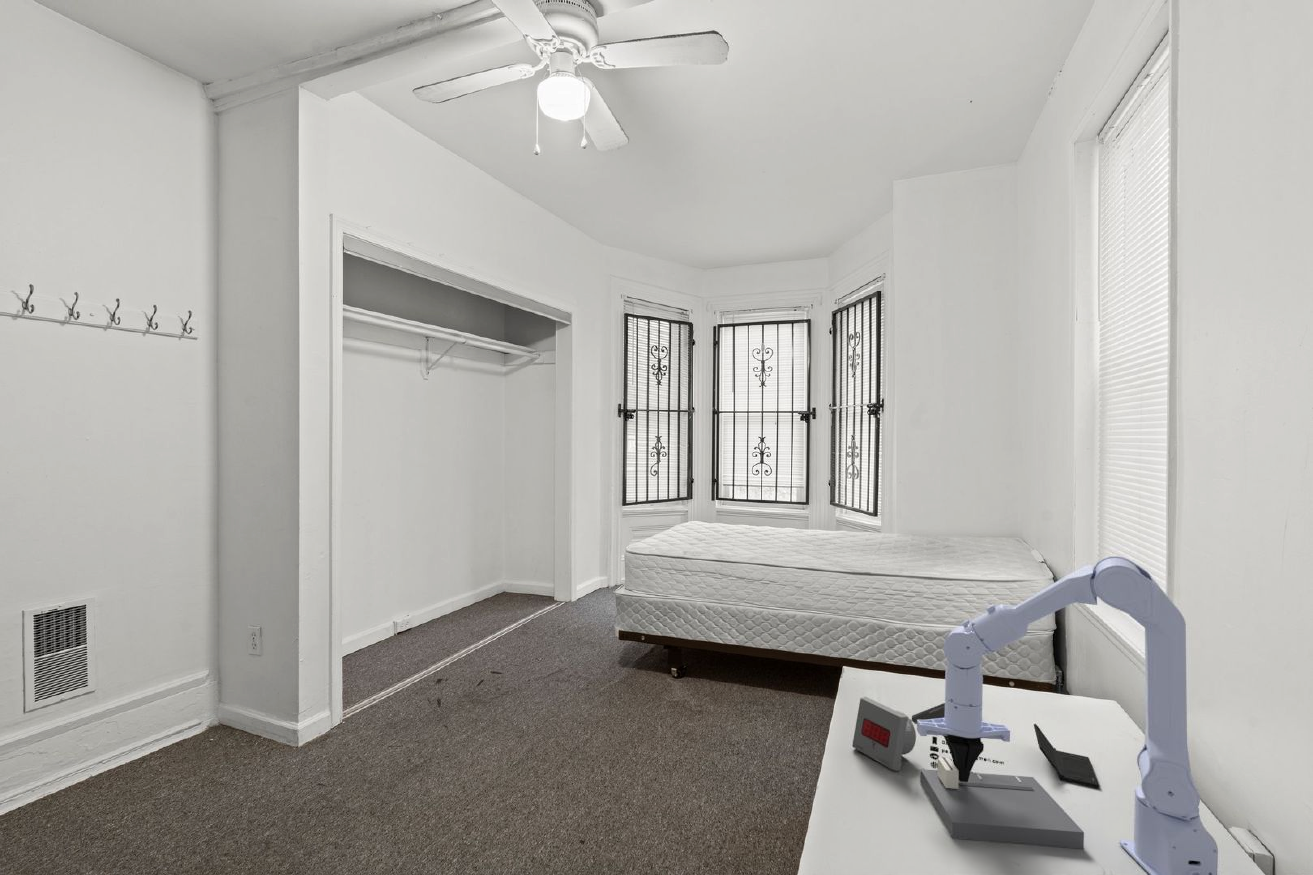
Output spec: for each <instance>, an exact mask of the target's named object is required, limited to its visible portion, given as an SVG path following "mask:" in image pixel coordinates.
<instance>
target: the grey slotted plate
mask: <svg viewBox="0 0 1313 875" xmlns="http://www.w3.org/2000/svg"><path fill="white" fill-rule="evenodd" d="M919 777H920V778H919V784H920V783H921V784H920V786H921V787H922V788H923V790H924V793H925V794H926V795H927V797H928V799H929V801H930V802H931V805H932V806H933V808H934V809H935V812H936V813H937V815H938V816H939V818H940V820H941V821H942V823H943V825H944V827H945V828H946V830H947V832H948V834H949V836H950V837H951V839H959V840H972V841H984V842H994V843H1007V844H1020V845H1032V846H1041V847H1043V846H1045V847H1056V848H1057V847H1058V848H1068V849H1080V850H1084V848H1085V846H1084V845H1085V843H1084V842H1085V832H1084V830H1083V829H1081V827H1080V826H1079V825H1078V824H1077V823H1076V822H1075V821H1074V820H1073V819H1072V817H1070V816H1069V814H1067V811H1065V810H1064V809H1063V808H1062V806H1060V805H1059V803H1057V801H1056V800H1055V799H1054V798H1053V797H1052V796H1051V795H1050V793H1048V792H1047V791H1046V790H1045V788H1044V787H1043V786H1042V785H1041V784H1040V782H1038V781H1037V779H1035V777H1033V776H1020V775H1011V774H1007V775H1006V774H993V773H984V772H983V773H982V772H981V773H980V772H973V773H970V776H969V779H968V782H960V781H959V779H958V789H954V788H946V787H945V786H944V784H943V783H942V781H941V780H940V778H939V777H938V775H937V769H925V768H920V774H919Z"/></svg>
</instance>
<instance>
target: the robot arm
mask: <svg viewBox="0 0 1313 875" xmlns="http://www.w3.org/2000/svg"><path fill="white" fill-rule="evenodd" d="M1093 566H1094V567H1093ZM1098 599H1100V600H1101V601H1102V602H1103V603H1104V604H1106V605H1108V606H1110V607H1112V608H1114V609H1115V610H1118V611H1120V612H1124V613H1125V614H1127V615H1129V616H1130V617H1131V618H1132V619H1134V620H1135V621H1136V622H1137V623H1138V624H1140V625H1141V626H1142V627H1143V628H1144V661H1145V662H1144V664H1145V665H1144V668H1145V670H1144V673H1145V674H1144V675H1145V676H1144V678H1145V680H1144V681H1145V686H1144V687H1145V688H1144V689H1145V731H1144V743H1143V746H1142V747H1141V749H1140V750H1139V751H1138V753H1137V755H1136V756H1137V757H1136V763H1137V767H1138V770H1139V772H1140V778H1141V783H1140V784H1139V785H1138V786H1136V788H1135V789H1134V814H1133V816H1134V818H1133V840H1126V839H1124V840H1123V839H1120V840H1119V841H1118V843H1119V845H1120V846H1121V847H1122V848H1123V849H1124V850H1125V851H1126V852H1127V853H1128V854H1129V855H1130V856H1131V858H1133V859H1134V860H1135V861H1136V862H1137V863H1138V865H1139V866H1141V867H1142V868H1143V870H1145V872H1147V873H1148V875H1218V867H1219V866H1218V862H1219V860H1218V859H1219V858H1218V857H1219V855H1218V854H1219V849H1218V844H1217V842H1216V840H1215V838H1214V837H1213V836H1212V835H1211V834H1210V833H1209V831H1208V830H1207V829H1206V828H1205V826H1204V824H1203V822H1202V820H1201V816H1200V808H1199V806H1200V804H1201V803H1200V802H1201V797H1200V793H1199V791H1198V788H1197V787H1196V784H1195V782H1194V779H1193V775H1192V771H1191V762H1190V757H1189V749H1188V748H1189V747H1188V723H1187V721H1188V716H1187V715H1188V714H1187V712H1188V710H1187V704H1188V703H1187V696H1188V695H1187V630H1186V629H1187V626H1186V625H1187V624H1186V623H1187V622H1186V620H1185V618H1184V616H1183V614H1182V612H1181V611H1180V609H1179V608H1178V607H1177V606H1176V605H1175V603H1173V601H1172V600H1171V599H1170V597H1169V596H1168V595H1167V594H1166V592H1164V590H1163V589H1162V588H1161V587H1160V585H1159V584H1158V583H1157V582H1156V580H1155V579H1154V578H1153V577H1152V575H1151V574H1150V573H1149V571H1147V570H1145V569H1144V568H1143V567H1141V566H1140V565H1139V564H1136V563H1135V562H1134V561H1132V560H1130V559H1128V558H1126V557H1123V556H1118V555H1112V556H1111V555H1110V556H1107V557H1104V558H1102V559H1100V560H1099V561H1097V562H1096V563H1095V565H1093V563H1091V564H1088V565H1086V566H1083V567H1081V568H1079V569H1077V570H1075V571H1073V572H1071V573H1069V574H1067V575H1066V576H1063V577H1062V578H1061V579H1059V580H1057V581H1055V582H1054V583H1052V584H1050V585H1048V586H1047V587H1045V588H1044V589H1042V590H1040V591H1039V592H1037V593H1035V594H1034V595H1032V596H1030V597H1029V598H1026V600H1024V601H1022V602H1020V603H1019V604H1017V605H1009V604H1007V603H1006V604H1004V603H1001V604H999V605H997V606H996V604H994V603H992V604H991V605H989V606H987V607H986V612H985V613H982V614H981V615H980V616H977V617H976V618H974V619H972V620H969V619H966V620H963V622H962V623H961V624H962V625H960V626H956V627H955V628H953V629H952V630H951V631H950V632H949V634H948V636H947V637H946V638H945V641H944V643H943V652H944V655H945V658H946V660H945V661H946V662H945V664H946V668H945V671H944V672H945V676H944V682H945V684H944V703H945V718H937V719H928V720H917V723H916V731H917V733H918V734H919V736H920V737H927V736H928V735H930V736H931V735H932V736H936V735H937V736H941V737H943V738H944V741H945V743H946V742H947V747H948V749H949V754H950V753H951V754H950V755H951V759H952V762H953V764H954V765H955V767H956V768H957V769H958V771H959V777H958V779H959V781H960V782H968V779H969V776H970V773H971V772H972V769H973V767H974V764H975V763H976V761H977V760H976V759H977V758H978V759H979V757H980V755H981V754H982V753H983V752H984V743H983V741H982V739H990V740H1001V741H1003V742H1005V743H1007V742H1008V743H1010V742H1011V730H1010V729H1009V728H1008V727H1007V726H1006V725H1004V724H998V723H996V724H995V723H991V722H986V721H983V689H984V688H983V686H984V684H983V683H984V676H983V672H982V669H983V667H982V666H983V661H982V660H983V657H984V656H983V655H989V654H990V655H991V654H994V653H997V651H1000V650H1001V649H1004V648H1005V647H1007V646H1009V645H1011V644H1013V643H1015V642H1017V641H1019V640H1021V639H1023V638H1024V637H1026V636H1027V634H1028V627H1029V625H1030V624H1033V623H1034V622H1036V621H1038V620H1040V619H1043V618H1045V617H1046V616H1049V615H1051V614H1053V613H1055V612H1057V611H1059V610H1062V609H1064V608H1066V607H1068V606H1071V605H1072V604H1075V603H1078V604H1087V605H1092V606H1093V605H1094V606H1098Z"/></svg>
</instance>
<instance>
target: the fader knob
mask: <svg viewBox="0 0 1313 875" xmlns="http://www.w3.org/2000/svg"><path fill="white" fill-rule="evenodd" d="M950 759H951V758H950V757H948V758H947V757H944V758H942V757H939V758H938V759H937V763H938V768H936V770H937V775H938V777H939V778H940V780H941V781H942V783H943V784H944V786H945V787H946V788H954V789H958V777H959V771H958V769H957V768H956V767H955V765H954V763H953V760H952V761H951V760H950Z"/></svg>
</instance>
